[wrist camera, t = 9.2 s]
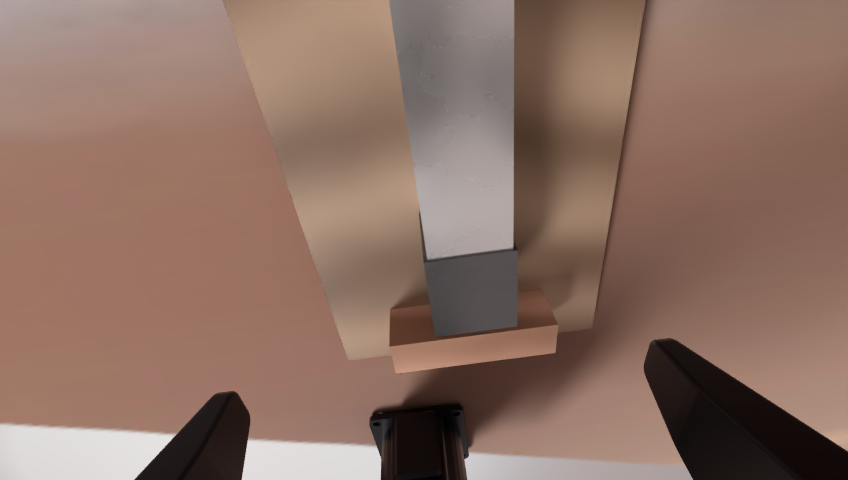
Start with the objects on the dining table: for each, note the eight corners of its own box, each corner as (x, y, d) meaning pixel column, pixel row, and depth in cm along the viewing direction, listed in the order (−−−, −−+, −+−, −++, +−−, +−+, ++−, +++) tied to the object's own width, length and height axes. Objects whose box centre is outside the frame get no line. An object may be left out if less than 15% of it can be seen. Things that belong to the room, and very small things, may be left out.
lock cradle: (585, 316, 24) (611, 364, 21) (349, 346, 24) (344, 399, 21) (683, -361, 10) (797, -492, 7) (142, -273, 10) (44, -366, 8)
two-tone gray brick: (498, 271, 20) (517, 326, 17) (428, 281, 20) (435, 337, 17) (490, -85, 12) (522, -104, 9) (376, -68, 12) (370, -81, 9)
